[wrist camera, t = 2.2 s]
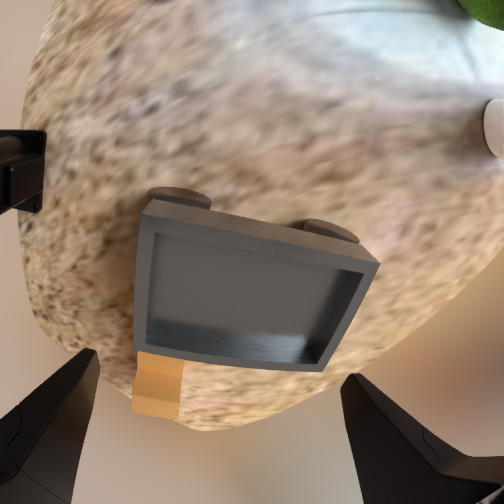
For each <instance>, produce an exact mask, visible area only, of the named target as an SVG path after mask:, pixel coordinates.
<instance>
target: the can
mask: <svg viewBox="0 0 504 504" xmlns="http://www.w3.org/2000/svg"><path fill="white" fill-rule="evenodd" d="M483 131H484V136H485V140H486V143H487V145H488V147H489V149H490V150H491V152H492V153H493V154H494V155H495V156H496V157H498V158H501V159H504V100H501V99H493V100H491V101H490V102H489V103H488V105H487V106H486V108H485V111H484V116H483Z"/></svg>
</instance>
